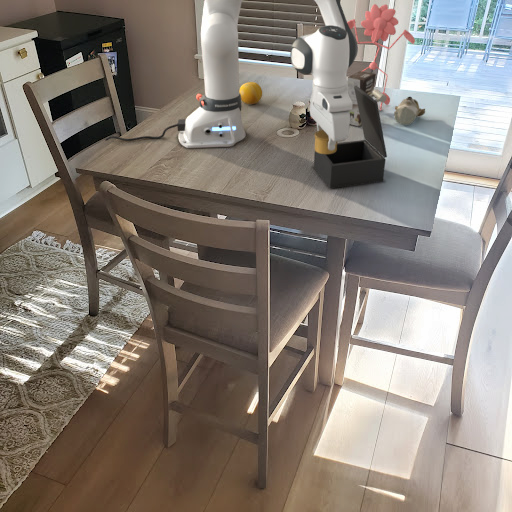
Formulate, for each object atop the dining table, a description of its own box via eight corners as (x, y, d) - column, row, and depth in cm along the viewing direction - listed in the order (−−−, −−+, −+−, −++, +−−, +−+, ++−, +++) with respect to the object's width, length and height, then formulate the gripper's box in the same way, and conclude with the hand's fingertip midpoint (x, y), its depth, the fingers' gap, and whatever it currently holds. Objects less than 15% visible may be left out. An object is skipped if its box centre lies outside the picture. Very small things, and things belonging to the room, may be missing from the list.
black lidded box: (330, 188, 156) (331, 165, 152) (313, 167, 167) (314, 145, 163) (382, 181, 159) (385, 159, 155) (363, 161, 170) (365, 139, 166)
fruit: (235, 104, 212) (234, 83, 207) (246, 98, 218) (246, 77, 213) (255, 108, 208) (254, 87, 204) (266, 102, 214) (266, 81, 209)
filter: (318, 155, 150) (319, 140, 147) (310, 146, 155) (311, 131, 152) (340, 153, 151) (341, 137, 149) (332, 143, 156) (333, 128, 154)
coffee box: (359, 126, 192) (363, 80, 183) (342, 122, 195) (346, 76, 186) (371, 118, 198) (376, 73, 189) (355, 115, 201) (359, 70, 192)
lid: (374, 103, 144) (392, 95, 144) (353, 86, 155) (370, 79, 155) (384, 158, 154) (401, 150, 155) (364, 138, 166) (380, 132, 166)
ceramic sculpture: (389, 99, 188) (399, 88, 200) (386, 124, 193) (396, 112, 204) (421, 104, 184) (430, 93, 196) (417, 129, 189) (425, 117, 201)
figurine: (403, 114, 201) (418, 10, 181) (333, 106, 209) (340, 6, 189) (408, 100, 213) (423, 1, 193) (342, 93, 220) (349, -3, 200)
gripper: (305, 82, 152) (303, 130, 160) (331, 108, 136) (328, 160, 143) (326, 80, 153) (324, 128, 161) (355, 105, 137) (350, 157, 145)
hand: (326, 143), depth 152 cm, fingers closed on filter, 6 cm apart
